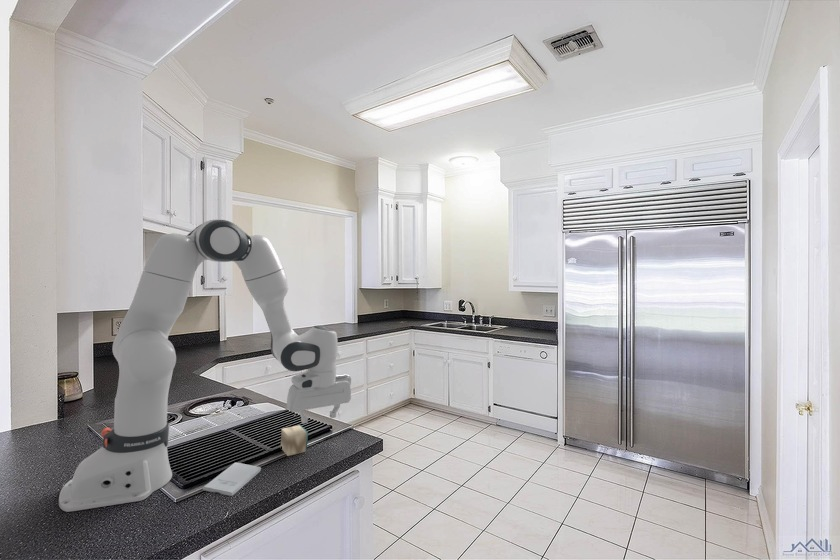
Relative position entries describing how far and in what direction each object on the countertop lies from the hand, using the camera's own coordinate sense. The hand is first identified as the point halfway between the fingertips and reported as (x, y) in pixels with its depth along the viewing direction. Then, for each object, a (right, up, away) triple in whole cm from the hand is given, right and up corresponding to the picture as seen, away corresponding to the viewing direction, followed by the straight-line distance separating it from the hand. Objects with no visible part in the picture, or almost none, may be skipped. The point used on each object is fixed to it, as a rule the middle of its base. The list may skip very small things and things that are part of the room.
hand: (318, 419), depth 131 cm
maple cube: (-4, -5, -2) cm, 7 cm away
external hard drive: (-17, -9, -22) cm, 29 cm away
